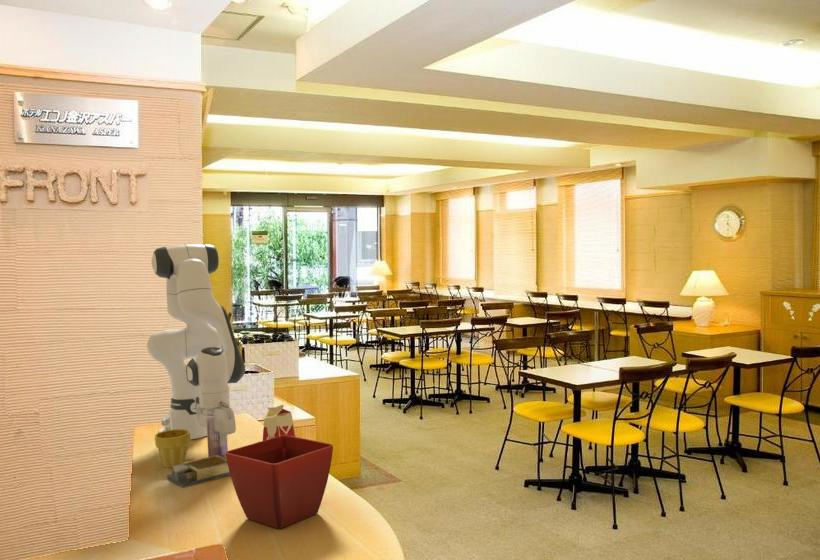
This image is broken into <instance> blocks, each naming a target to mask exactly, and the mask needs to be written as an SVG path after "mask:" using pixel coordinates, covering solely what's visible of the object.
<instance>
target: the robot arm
mask: <svg viewBox="0 0 820 560" xmlns="http://www.w3.org/2000/svg"><path fill="white" fill-rule="evenodd" d="M219 263H220V255H219V252H218V250H217V247H215V245H212V244H209V243H208V244H207V243H203V244H198V243H197V244H195V243H192V244H191V243H187V244H182V245H181V244H179V245H171V246H161V247H158V248H155V249H154V251H153V254H152V257H151V266H152V269H153V271H154V273H155V275H156V276H157V277H159V278H163V279H166V286H165V287H166V307H167V308H166V309H167V313H168V314H169V316H171V317H172V318H173V319H175V320H178V321H180V322H181V323H182V322H183V323H184V324H186V327H185V328H171V329H164V330H160V331H155V332H152V334H151V335H150V336H149V337H148V340H147V343H146V349H147V352H148V354H149V355H150V357H151V358H152V359H154V360H155V361H157V362H158V363H160V364H161V365H162V366H163V367H164V368H165V370H166V372H167V374H168V376H169V380H170V387H171V394H172V395H171V398H170V409H169V410H168V412H167V413H166V415H165V416H164V418H163V419H161V425H162V426H164V427H161V428H159V429H158V430H157V433H160V432H163V431H167V430H174V429H185V430H188V431H190V440H194V439H195V440H196V439H200V438H205V437H206V436H207V423H206V418H207V414H209V415H211V416H215V419H214V429H215V431H217V432H219V435H220V440H219V445H220V446H225V445H226V438H227V439H228V435H232V434H235V433H236V430H237V427H236V426H237V425H236V424H237V423H236V416H235V411H234V410H233V408H231V407H230V405H231V397H230V387H229V384H236V383H238V382H239V381H241V379H242V378H243V376H244V375H245V373H246V365H245V360H244V358H243V355H242V354H241V351H240V349H239V345H238V343H237V340H236V336H235V333H234V331H233V327H232V324H231V321H230V318H229V315H228V313H227V310H226V309H225V307H224V306H222V305H221V304H219V303H218V301H217V300H216V298H215V296H214V292H213V287H212V282H211V278H210V277H211V276H210V274H213V273H215V272H216V271H217V270H218V268H219V265H220V264H219ZM187 359H190V360H189V361H188V362H187V364H186V363H185V360H187Z"/></svg>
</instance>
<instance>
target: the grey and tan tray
mask: <svg viewBox="0 0 820 560" xmlns="http://www.w3.org/2000/svg"><path fill="white" fill-rule="evenodd" d="M171 469H172V471H171V473H169V474H167V475H166V479H168V480H169V481H171V482H173V483H174V484H175V485H178V486H180V487H181V488H186V487H190V486H195V485H199V484H202V483H206V482H210V481H213V480H218V479H221V478H225V477H228V476H230V472H229V468H228V464H227V460H226V454H224V455H223V457H221V456H219V455H213V456H209V457H208V456H206V457H205V456H204V457H202V458H201V457H200V458H197V459H193V460H189V461H185V462H184V463H181V465H176V466H173V467H171Z"/></svg>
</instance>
